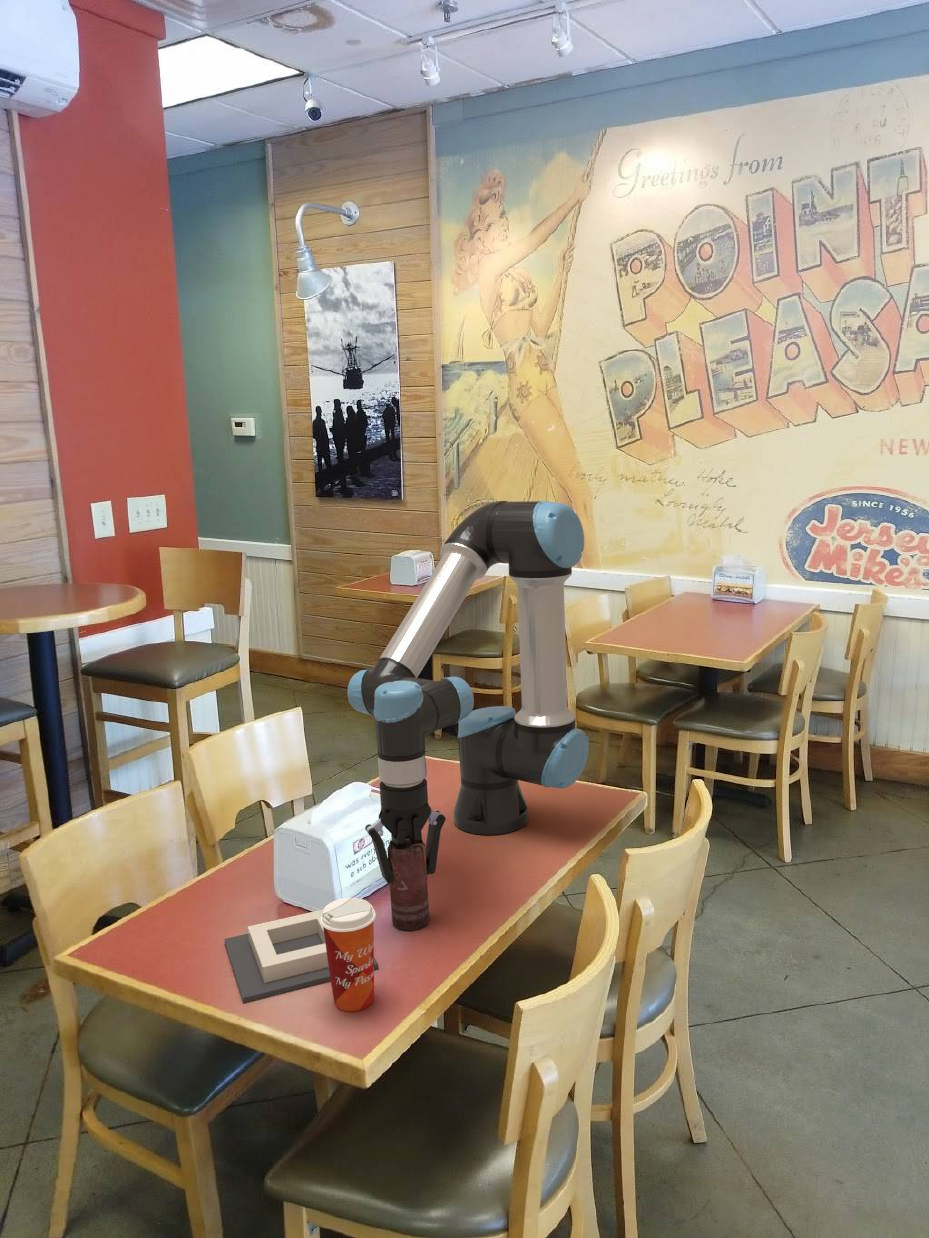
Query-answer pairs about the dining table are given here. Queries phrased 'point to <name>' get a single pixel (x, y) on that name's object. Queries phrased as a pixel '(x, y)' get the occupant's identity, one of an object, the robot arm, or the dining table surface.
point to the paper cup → (350, 952)
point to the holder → (291, 961)
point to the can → (409, 885)
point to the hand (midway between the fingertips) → (411, 916)
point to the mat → (252, 978)
